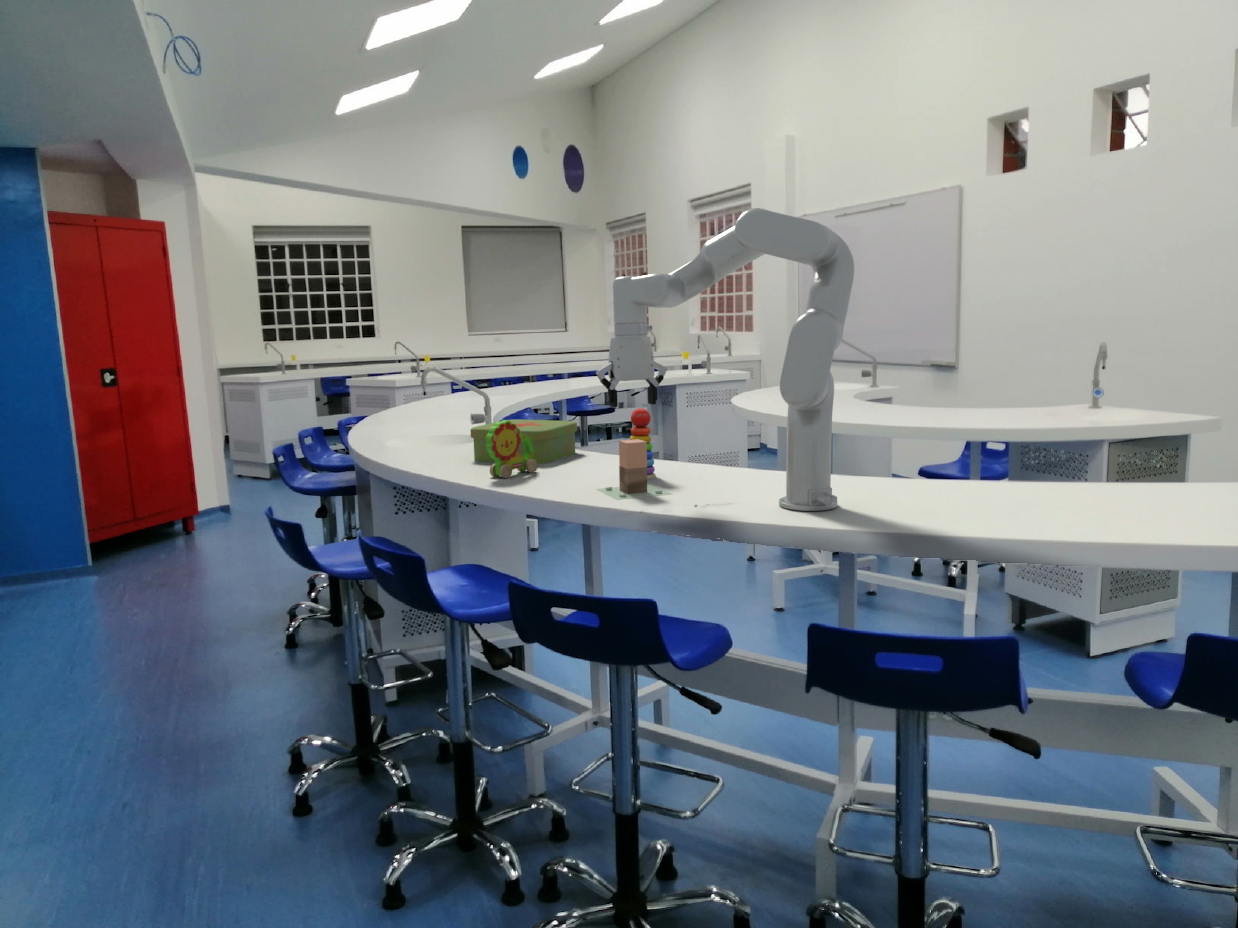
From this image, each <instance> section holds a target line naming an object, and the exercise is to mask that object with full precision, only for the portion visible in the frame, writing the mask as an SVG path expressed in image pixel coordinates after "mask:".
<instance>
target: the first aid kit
mask: <svg viewBox="0 0 1238 928" xmlns="http://www.w3.org/2000/svg"><path fill="white" fill-rule="evenodd" d="M506 420H507V421H510V422H511V423H515V424H516V425H517V428H519V429H520V432H521V434H524V435H526V436H528V437H529V438H530V440H531V442H532V444H533V451H534V458H533V459H534V460H536V461H537V465H539V464H540V463H542V464H547V463H546V462H548V463H550V462H551V463H552V462H554V461H557V460H560V459H563V458H566V457H569V456H572V455H575V454H576V436H575V435H576V434H575V433H576V432H577V431H578V423H577V421H573V420H552V419H551V420H550V419H549V420H548V419H522V418H521V419H515V418H514V419H506ZM501 421H502V420H499V421H498V422H501ZM496 422H497V421H496ZM496 422H491V423H486V424H482V425H477V426H473V427H471V428H470V438H471V439H473V452H474V454H473V455H474V456H473V459H474V461H477V462H492V463H495V459H494V458H491V457H490V456H489V452H488V451H487V450H486V435H487V434H488V433H489V429H490V428H491V427H493V426H494V424H495V423H496ZM518 454H520V455H522V456H523V457H524V454H525V447H524V444H523V442H521V443H520V444H519V446H518ZM565 456H566V457H565ZM556 459H557V460H556Z"/></svg>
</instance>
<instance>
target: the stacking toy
mask: <svg viewBox="0 0 1238 928" xmlns="http://www.w3.org/2000/svg"><path fill="white" fill-rule="evenodd" d="M630 415H631V416H630V422H631V424H632V425H633V426H634V427H632V428H630V433H631V436H629V440H636V439H639V440H642V441H646V442H647V480H652V479H656V477H657V475H656V473H655V469H656V468H655V466H654V464H655V459H654V458H653V456H654V453H653V451H652V449H653V444H652V443H651V442H652V441H651V440H652V437H651V436H650V433H651V428H650V427H648V425H649V424H650V423H651V420H652V418H651V414H650V412H649V411H648V410H646V409H645V408H641V407H640V408H636V409H634V410H633V411H632V413H631V414H630Z"/></svg>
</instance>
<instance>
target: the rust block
mask: <svg viewBox="0 0 1238 928" xmlns="http://www.w3.org/2000/svg"><path fill="white" fill-rule="evenodd" d="M618 447H619V448H618V449H619V450H618V452H619V453H618V455H619V457H618V458H619V459H618V461H619V466H621V467H624V468H626V469H632V468H644V467H647V442H646V441H642V440H639V439H636V440H630V439H623V440H618Z"/></svg>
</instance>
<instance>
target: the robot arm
mask: <svg viewBox="0 0 1238 928" xmlns="http://www.w3.org/2000/svg"><path fill="white" fill-rule="evenodd" d="M764 255H769V256H773V257H775V258H779V259H780V258H781V259H783V260H788V261H791V262H797V263H799V264H804V265H807V266H810V267H811V268H812V271H813V275H812V279H811V280H812V281H811V284H810V288H809V291H808V297H807V301H806V302H807V303H806V306H805V311H804V313H803V314H802V315H800V316H799V317H798V318H797V319H796V320H795V322H793V325H792V327H791V330H790V334H789V337H788V342H787V346H786V351H785V356H784V361H783V364H782V365H783V366H782V368H781V374H780V379H779V392H780V395H781V397H782V399H783V400H784V402H785V403H786V404H787V405H788V408H787V420H786V421H787V422H786V473H785V475H786V481H785V483H786V484H785V486H786V487H785V488H786V490H785V492H786V493H785V496H783V497H781V498H780V499H778V506H779V507H781V508H784V509H788V510H792V511H793V510H794V511H800V512H801V511H802V512H803V511H804V512H818V511H819V512H820V511H827V510H828V511H829V510H833V509H836V508H837V507H838V496H836V495H834V494H833V487H831V482H832V481H831V480H832V479H831V475H832V474H831V473H832V472H831V471H832V436H833V434H832V432H833V409H834V408H833V407H834V400H835V399H834V396H835V382H834V377H833V374H832V372H831V367H832V364H833V359H834V356H835V355H834V354H835V350H836V349H837V350H838V348H839V346H840V344H841V342H842V340H843V336H844V328H845V322H846V319H847V314H848V313H847V312H848V310H849V306H850V298H851V293H852V288H853V285H854V277H855V262H854V261H855V260H854V257H853V254H852V251H851V248H849V245H848V244H847V243H846V241H845V240H844V239H843V238H841V237H840V235H838V234H837V233H836V232H835V231H833V230H832V229H830V228H829V227H827V226H826V225H824V224H822V223H820V222H817V221H814V220H810V219H806V218H801V217H797V216H792V215H788V214H785V213H779V212H775V211H772V210H769V209H765V208H760V207H754V208H750V209H748V210H745V211H744V212H743V213H741V215H739V216H738V218H737V219H736V222H735V225H733V226H732V227H730V228H728V229H727V230H724V231H723V232H721V233H719V234H718V235H717V236H714V237H712V238H711V239H709V240H707V241H706V242H705V243H704V244H703V245H702V246H701V249H700V251H699V253H698V254H697V255H696V256H695V257H694V258H693V259H692V260H690V261H689V262H688V263H685V264H684V265H682V266H681V267H679V268H678V269H676V270H674V271H672V272H670V273H660V272H659V273H651V274H647V275H646V274H645V275H641V276H638V275H627V276H626V275H625V276H619V277H615V279H614V280H613V282H612V296H613V299H612V300H613V302H612V303H613V323H614V324H613V326H614V327H613V329H614V330H613V331H614V337H611V338H610V343H609V351H608V363H607V364H606V365H604V366H602V367H601V368H599V369H598V370H596V371H595V374H596V376H597V378H598V380H599V382H600V384H602V386H603V387H605V389H607V402H608V404H609V407H610V408H617V407H618V390H617V389H616V387H617V386H618V384H619V383H620V382H629V381H643V380H644V381H646V382H647V384H648V385H649V386H648V387H647V403H648V404H649V405H657V400H658V387H659V386H660V384H661V383H662V381H663V380H664V379H665V378H664V377H665V375H666V372H667V370H668V368H667V367H666V366H664V365H662V364H660V363H658V362H656V361H655V358H654V352H653V346H652V342H651V341H652V340H651V337H650V336H648V334H649V332H652V331H653V326H652V325H651V324H650V325H649V324H648V323H649V322H648V321H647V320H648V319H647V307H649V308H657V309H659V308H661V309H662V308H674V307H675V308H676V307H678V306H680V305H682V304H683V303H685V302H687V301H689V300H691V299H692V298H694V297H697V296H698V295H700V294H702V293H703V292H705V291H706V290H708V289H709V288H711V287H712V286H714V285H716V284H717V283H718V282H720V281H721V280H722V279H723V278H725V277H727V276H728V275H730V274H732V273H733V272H735V271H738V270H739V269H742V268H743V267H745V266H746V265H747V264H750V263H751V262H753V261H755V260H757V259H759V258H760V257H762V256H764ZM655 370H657V371H658V373H657V375H656V376H655ZM607 373H608V378H609V380H608V379H607V377H606V375H605V374H607Z"/></svg>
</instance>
